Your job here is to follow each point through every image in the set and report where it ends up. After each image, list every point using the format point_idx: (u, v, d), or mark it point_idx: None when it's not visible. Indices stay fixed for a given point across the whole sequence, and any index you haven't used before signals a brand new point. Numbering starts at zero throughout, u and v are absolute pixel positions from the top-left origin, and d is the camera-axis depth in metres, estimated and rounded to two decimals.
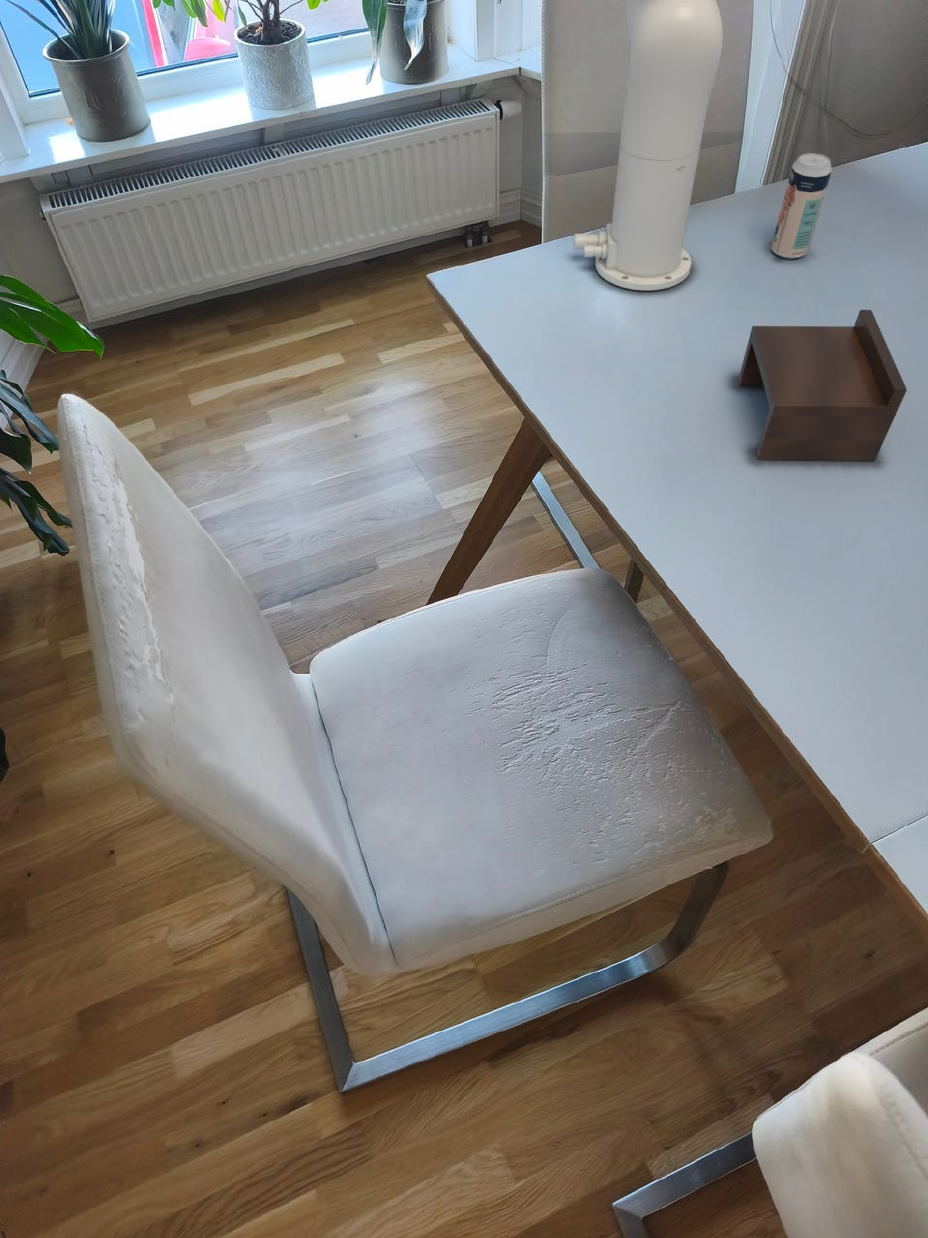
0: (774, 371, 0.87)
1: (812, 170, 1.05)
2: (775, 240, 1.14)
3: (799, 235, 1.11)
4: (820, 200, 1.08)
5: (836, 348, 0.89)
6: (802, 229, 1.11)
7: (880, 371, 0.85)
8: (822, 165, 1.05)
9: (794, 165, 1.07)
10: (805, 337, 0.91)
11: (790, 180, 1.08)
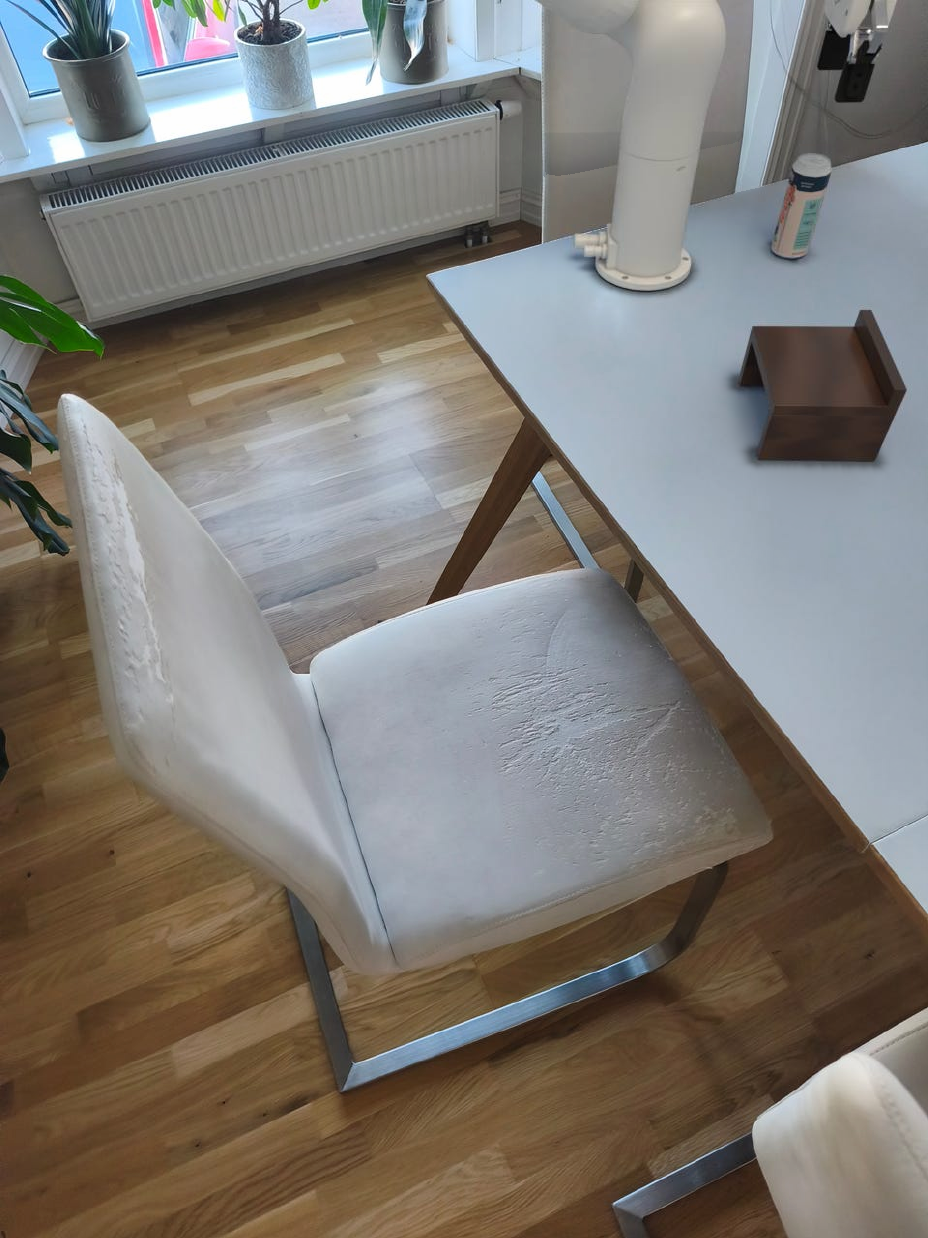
0: (774, 371, 0.87)
1: (812, 170, 1.05)
2: (775, 240, 1.14)
3: (799, 235, 1.11)
4: (820, 200, 1.08)
5: (836, 348, 0.89)
6: (802, 229, 1.11)
7: (880, 371, 0.85)
8: (822, 165, 1.05)
9: (794, 165, 1.07)
10: (805, 337, 0.91)
11: (790, 180, 1.08)
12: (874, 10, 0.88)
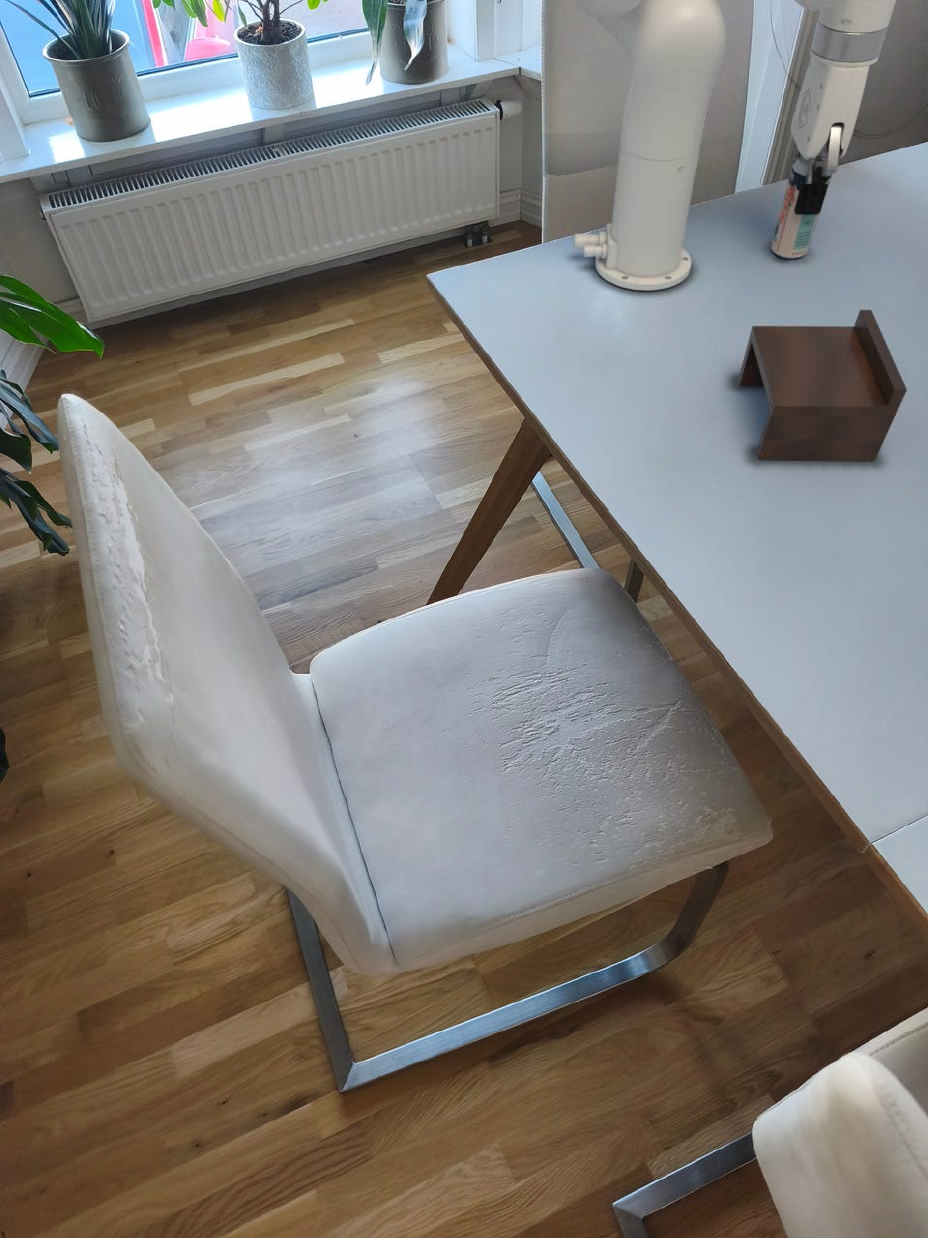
0: (774, 371, 0.87)
1: None
2: (775, 240, 1.14)
3: (799, 235, 1.11)
4: None
5: (836, 348, 0.89)
6: (802, 229, 1.11)
7: (880, 371, 0.85)
8: None
9: (794, 165, 1.07)
10: (805, 337, 0.91)
11: (790, 180, 1.08)
12: (828, 147, 1.00)
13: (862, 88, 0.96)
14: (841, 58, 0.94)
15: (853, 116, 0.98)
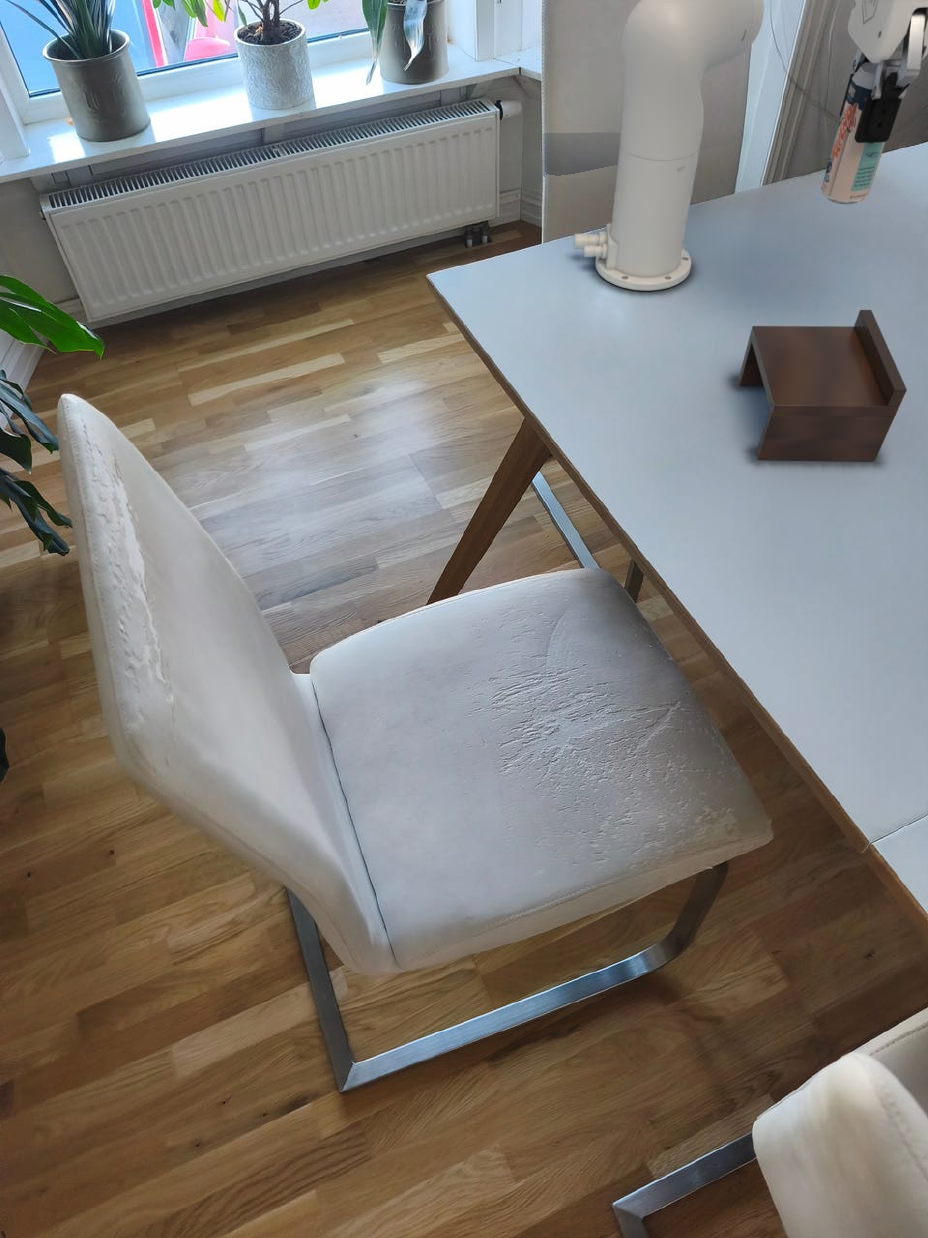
0: (774, 371, 0.87)
1: None
2: (827, 180, 0.88)
3: (860, 171, 0.86)
4: None
5: (836, 348, 0.89)
6: (865, 164, 0.85)
7: (880, 371, 0.85)
8: None
9: (855, 77, 0.82)
10: (805, 337, 0.91)
11: (849, 98, 0.83)
12: (907, 43, 0.74)
13: None
14: None
15: None
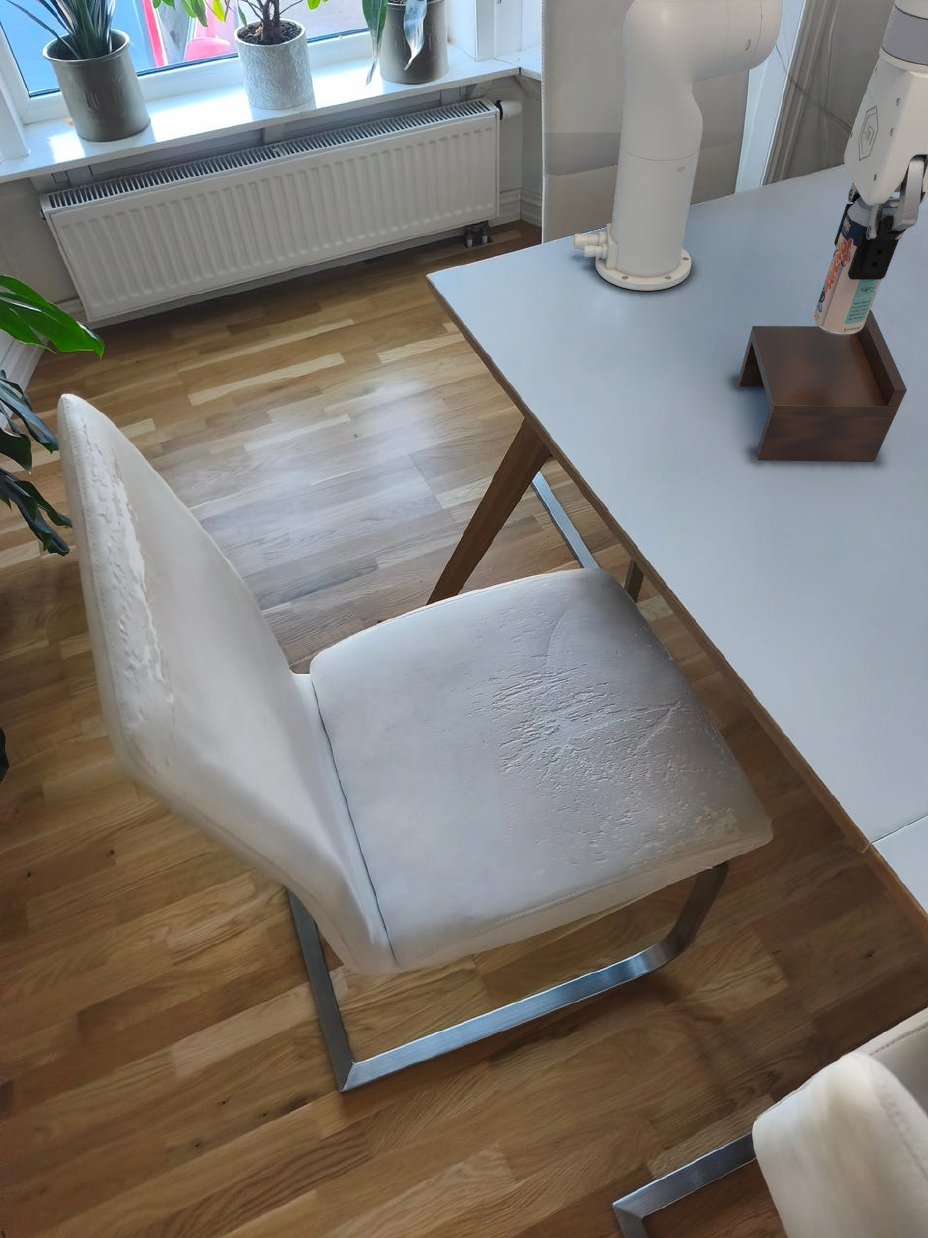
0: (774, 371, 0.87)
1: None
2: (820, 310, 0.83)
3: (854, 306, 0.80)
4: None
5: (836, 348, 0.89)
6: (860, 298, 0.80)
7: (880, 371, 0.85)
8: (891, 212, 0.74)
9: (850, 211, 0.76)
10: (805, 337, 0.91)
11: (844, 231, 0.77)
12: (905, 189, 0.69)
13: None
14: None
15: None
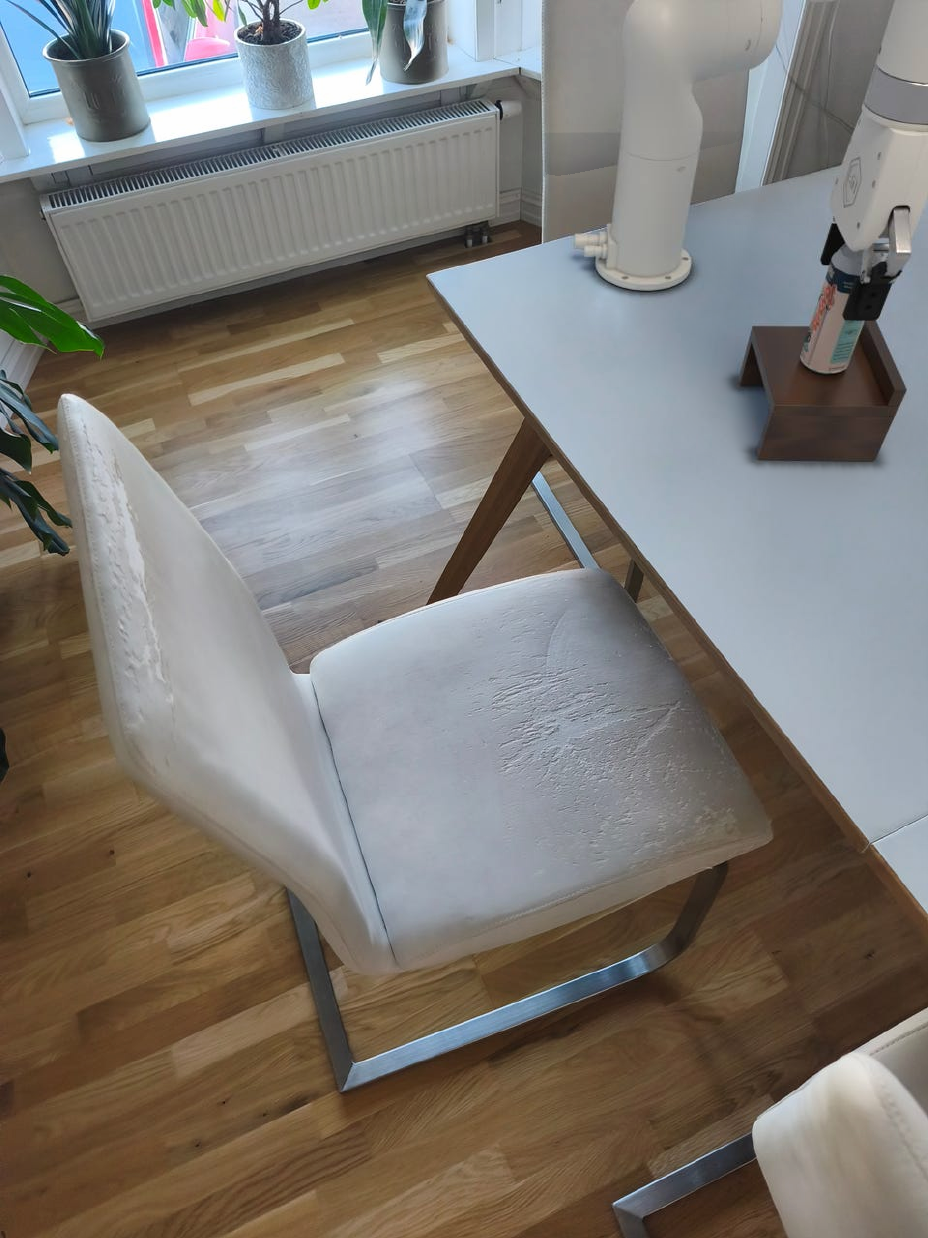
0: (774, 371, 0.87)
1: (860, 267, 0.78)
2: (806, 350, 0.86)
3: (839, 347, 0.84)
4: None
5: None
6: (844, 340, 0.83)
7: (880, 371, 0.85)
8: (873, 260, 0.78)
9: (834, 258, 0.79)
10: (805, 337, 0.91)
11: (828, 277, 0.80)
12: (893, 229, 0.70)
13: None
14: (909, 119, 0.66)
15: (923, 197, 0.70)
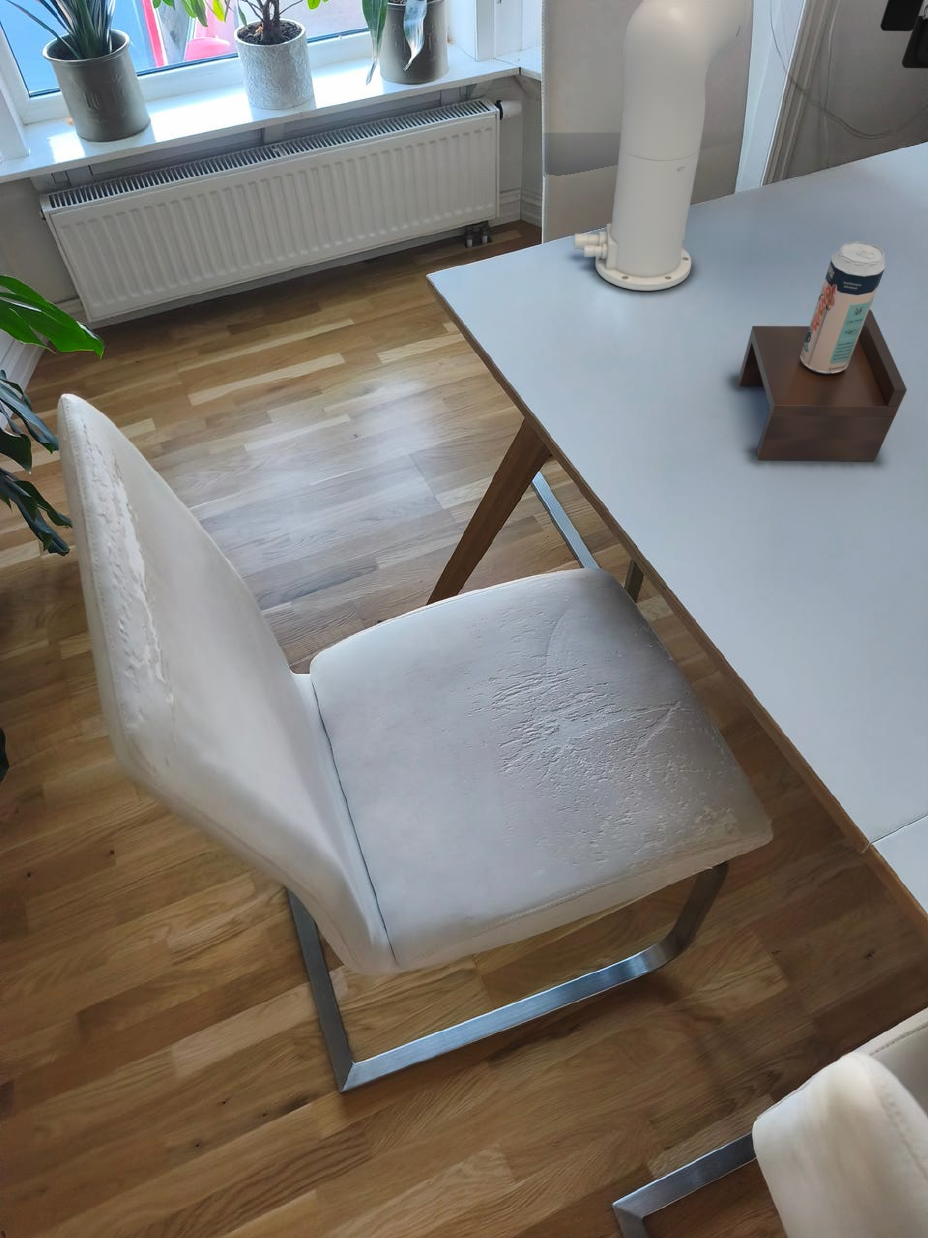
0: (774, 371, 0.87)
1: (860, 267, 0.78)
2: (806, 350, 0.86)
3: (839, 347, 0.84)
4: (868, 304, 0.81)
5: None
6: (844, 340, 0.83)
7: (880, 371, 0.85)
8: (873, 260, 0.78)
9: (834, 258, 0.79)
10: (805, 337, 0.91)
11: (828, 277, 0.80)
12: None
13: None
14: None
15: None
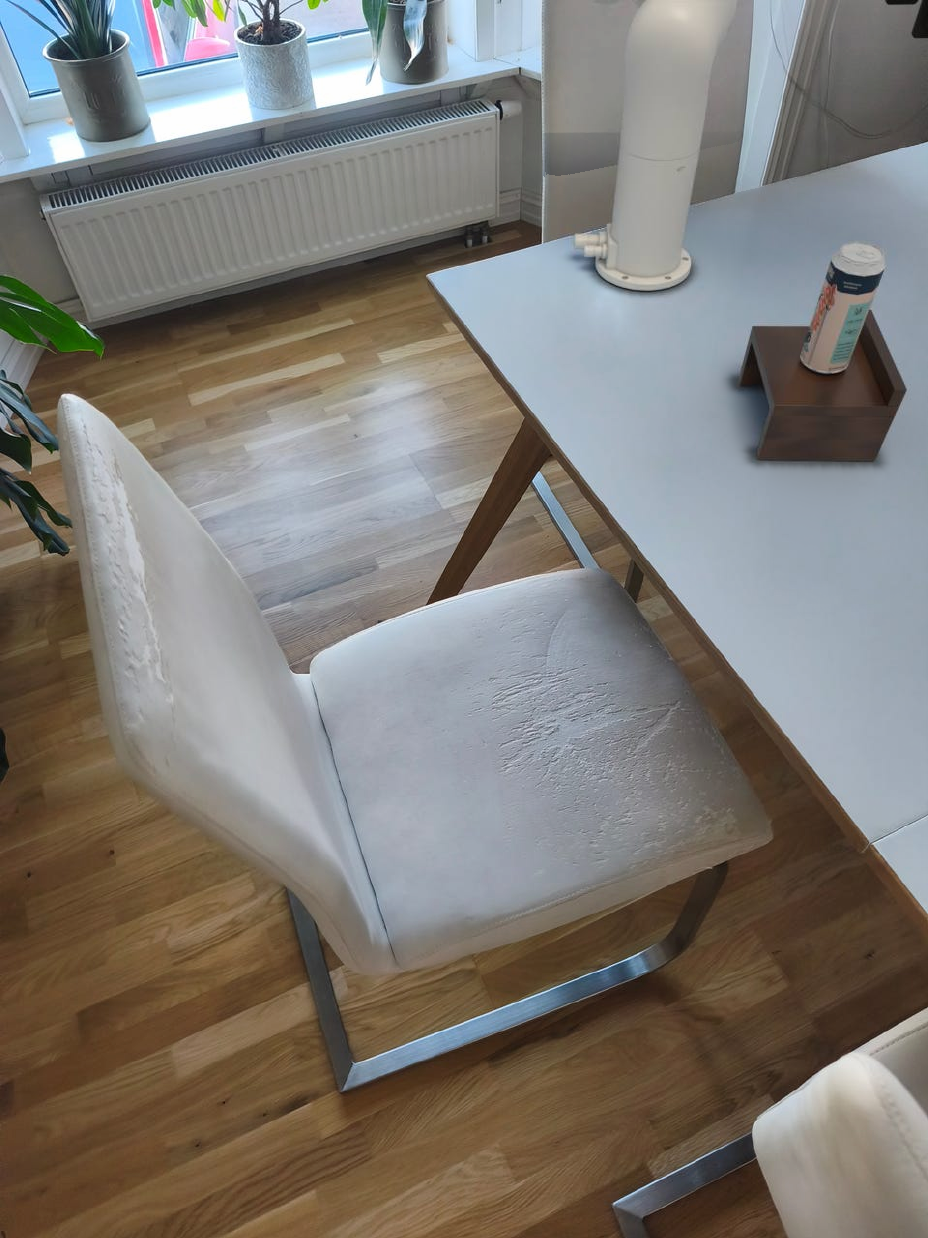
0: (774, 371, 0.87)
1: (860, 267, 0.78)
2: (806, 350, 0.86)
3: (839, 347, 0.84)
4: (868, 304, 0.81)
5: None
6: (844, 340, 0.83)
7: (880, 371, 0.85)
8: (873, 260, 0.78)
9: (834, 258, 0.79)
10: (805, 337, 0.91)
11: (828, 277, 0.80)
12: None
13: None
14: None
15: None
